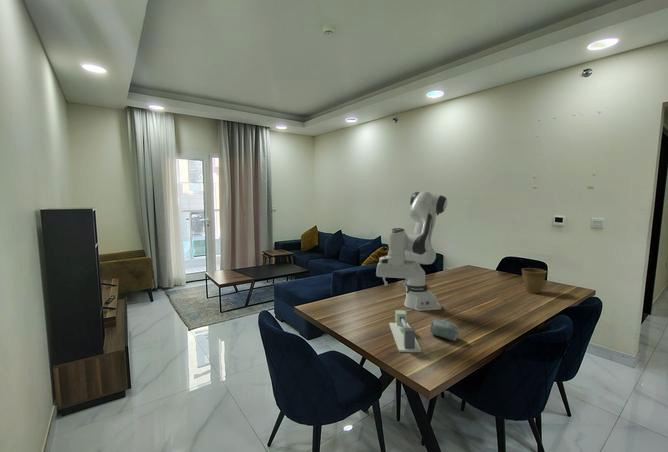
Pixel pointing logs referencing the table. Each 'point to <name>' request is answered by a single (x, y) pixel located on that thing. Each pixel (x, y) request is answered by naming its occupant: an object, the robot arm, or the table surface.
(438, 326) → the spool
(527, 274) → the plant pot
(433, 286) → the table surface
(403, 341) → the stand
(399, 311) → the sleeve
